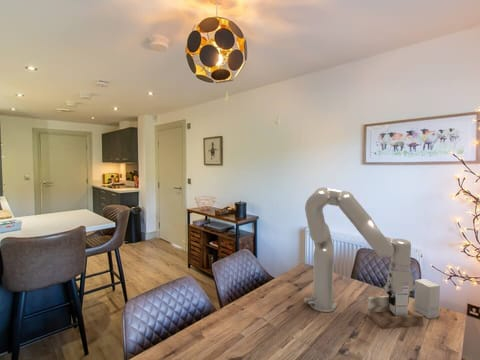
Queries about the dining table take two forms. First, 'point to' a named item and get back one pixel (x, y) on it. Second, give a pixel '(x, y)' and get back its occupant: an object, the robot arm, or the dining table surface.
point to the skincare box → (427, 298)
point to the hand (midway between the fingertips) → (398, 303)
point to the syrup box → (400, 303)
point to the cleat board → (390, 314)
